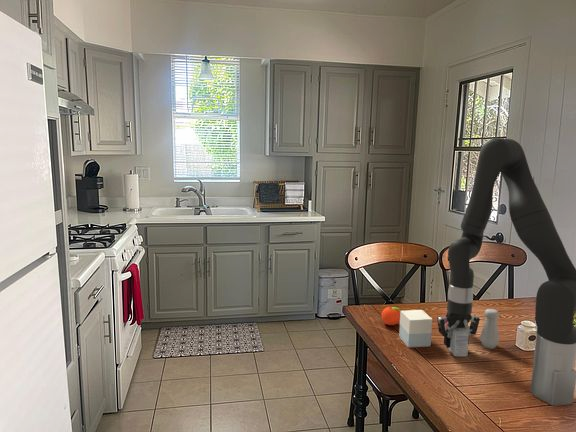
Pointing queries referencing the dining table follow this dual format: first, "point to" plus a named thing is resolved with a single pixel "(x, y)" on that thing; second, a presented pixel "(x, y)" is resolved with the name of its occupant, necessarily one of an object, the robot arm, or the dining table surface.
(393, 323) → the clementine
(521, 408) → the dining table surface
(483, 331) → the salt shaker
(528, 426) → the dining table surface
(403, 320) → the tower top
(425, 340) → the tower base
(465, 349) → the medicine box
